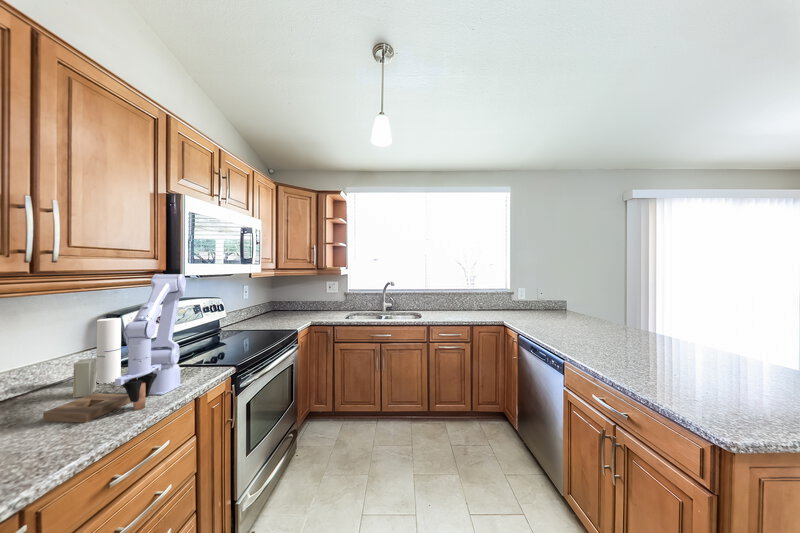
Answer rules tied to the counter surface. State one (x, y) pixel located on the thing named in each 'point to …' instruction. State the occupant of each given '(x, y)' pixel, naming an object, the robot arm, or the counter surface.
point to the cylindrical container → (108, 350)
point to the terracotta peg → (140, 398)
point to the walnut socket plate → (86, 408)
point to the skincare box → (84, 377)
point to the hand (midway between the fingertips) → (139, 399)
